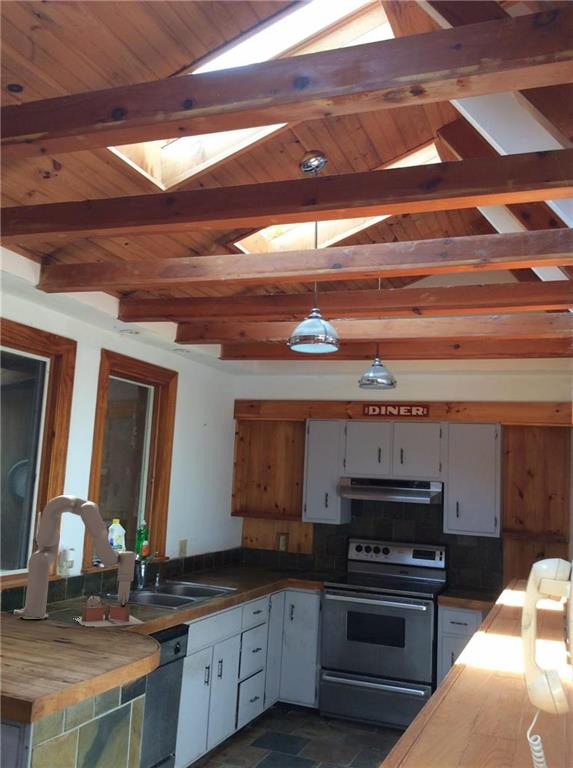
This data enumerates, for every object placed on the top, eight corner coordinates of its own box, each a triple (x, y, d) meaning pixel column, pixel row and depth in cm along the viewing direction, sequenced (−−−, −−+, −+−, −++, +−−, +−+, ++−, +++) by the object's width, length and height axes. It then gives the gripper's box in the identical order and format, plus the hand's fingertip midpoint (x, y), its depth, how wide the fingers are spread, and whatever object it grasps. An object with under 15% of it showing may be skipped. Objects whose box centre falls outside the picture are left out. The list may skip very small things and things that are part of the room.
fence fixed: (82, 621, 314) (83, 606, 315) (80, 620, 315) (82, 605, 316) (109, 619, 321) (110, 604, 322) (108, 618, 322) (109, 603, 324)
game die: (95, 618, 343) (108, 601, 347) (92, 615, 335) (105, 598, 340) (82, 608, 345) (95, 591, 349) (78, 604, 337) (92, 588, 342)
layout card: (86, 628, 302) (86, 627, 302) (71, 618, 322) (71, 617, 322) (144, 623, 317) (144, 622, 317) (127, 614, 337) (127, 613, 337)
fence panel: (108, 619, 320) (109, 604, 321) (110, 618, 322) (111, 604, 323) (127, 621, 317) (129, 607, 318) (129, 620, 318) (131, 606, 319)
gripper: (118, 575, 332) (114, 613, 329) (117, 579, 318) (113, 619, 315) (133, 575, 334) (130, 613, 331) (133, 579, 319) (129, 619, 316)
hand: (122, 616), depth 323 cm, fingers closed
